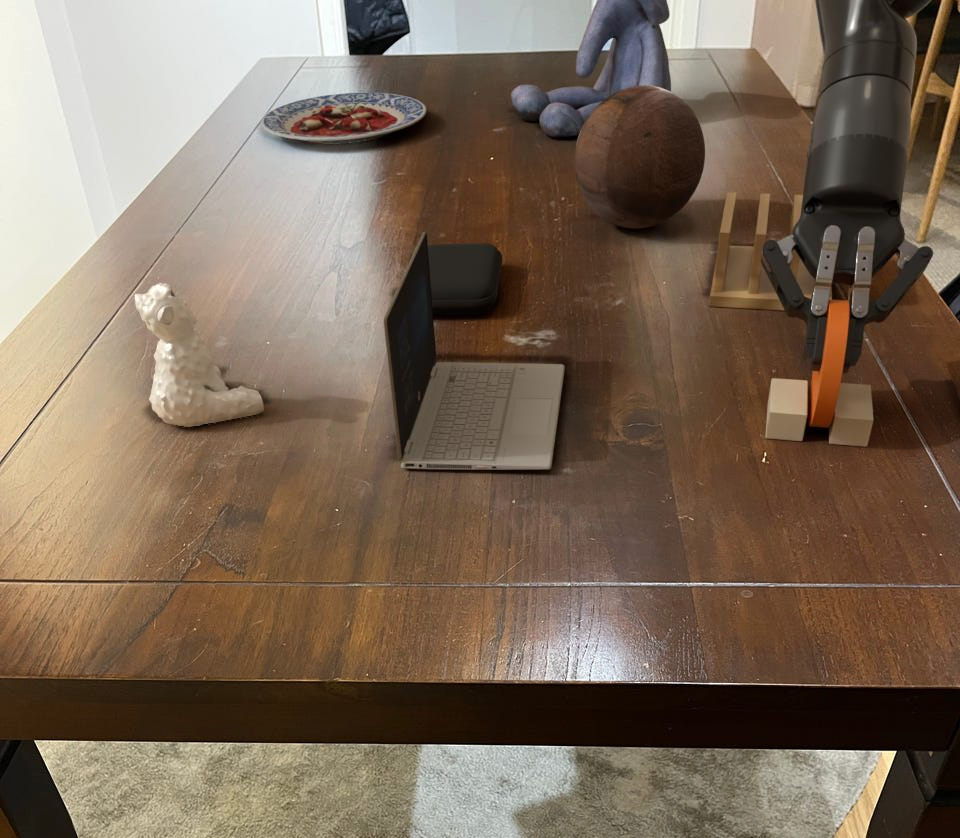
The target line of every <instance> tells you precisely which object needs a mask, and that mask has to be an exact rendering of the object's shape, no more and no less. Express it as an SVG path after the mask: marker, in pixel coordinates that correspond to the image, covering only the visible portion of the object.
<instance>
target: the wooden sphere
mask: <svg viewBox="0 0 960 838" xmlns="http://www.w3.org/2000/svg"><path fill="white" fill-rule="evenodd" d="M705 162H706V144H705V137H704V133H703V128H702V126H701V124H700V122H699V118H698V116H696V114H695V113H694V110H693V109H692V108H691V107H690V106H689V104H687V102H686V101H685V100H684V99H683V98H682V97H680V96H679V95H677V94H675V93H674V92H672V91H671V92H670V91H668V90H666V89H663V88H660V87H656V86H648V85H641V86H633V87H628V88H625V89H622V90H620V91H618V92H616V93H614V94H612V95H610V96H609V97H607V98H606V99H605V100H603V101H602V102H601V103H600V104H599V105H598V106H597V107H596V108H595V109H594V110H593V111H592V113H591V114H590V115H589V117H588V118H587V120H586V121H585V123H584V125H583V127H582V129H581V132H580V134H579V136H577V141H576V146H575V151H574V173H575V178H576V182H577V186H578V189H579V191H580V193H581V196H582V198H583V200H584V201H585V202H586V203H587V205H588V206H589V208H590V209H591V210H592V211H593V212H594V213H595V214H596V215H597V216H599V217H600V218H601V219H603V220H605V221H606V222H608V223H610V224H612V225H614V226H617V227H621V228H626V229H645V228H650V227H653V226H654V227H655V226H657V225H659V224H662V223H664V222H665V221H668V220H669V219H670V218H673V217H674V216H675V215H676V214H678V213H679V212H680V211H681V210H682V209H683V208H684V207H685V206H686V205H687V204H688V203H689V201H690V200H691V198H692V197H693V195H694V194H695V192H696V191H697V188H698V186H699V184H700V181H701V179H702V175H703V172H704V169H705V168H704V167H705Z"/></svg>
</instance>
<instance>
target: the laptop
mask: <svg viewBox="0 0 960 838" xmlns="http://www.w3.org/2000/svg"><path fill="white" fill-rule="evenodd" d="M428 245H429V244H428V234H427V232H426V231H425V230H424V231H423V232H422V234H421V236H420V238H419V240H418V242H417V244H416V247H415V249H414V251H413V253H412V255H411V258H410V260H409V261H408V264H407V266H406V269H405V271H404V272H403V275H402V277H401V279H400V281H399V283H398V286H397V287H396V290H395V293H394V295H393V296H392V299H391V300H390V303H389V305H388V308H387V310H386V311H385V314H384V316H383V329H384V330H383V331H384V339H385V349H386V358H387V367H388V376H389V384H390V393H391V394H390V395H391V403H392V411H393V412H392V413H393V422H394V423H393V424H394V431H395V440H396V449H397V459H398V461H399V462H401V464H400V468H401V469H412V470H413V469H416V470H469V471H470V470H472V471H474V470H478V471H479V470H482V471H484V470H489V471H490V470H491V471H492V470H494V471H495V470H497V471H499V470H501V471H502V470H503V471H504V470H505V471H506V470H507V471H508V470H510V471H511V470H516V471H517V470H518V471H519V470H550V469H552V464H553V457H554V448H555V441H556V434H557V428H558V427H557V426H558V419H559V412H560V407H561V406H560V405H561V397H562V392H563V385H564V377H565V369H566V366H565V365H564V364H563V363H521V362H520V363H517V362H514V363H512V362H461V361H460V362H459V361H458V362H457V361H456V362H455V361H453V362H452V361H438V362H437V349H436V348H437V347H436V337H435V336H436V334H435V322H434V321H435V320H434V315H433V308H432V295H431V282H430V269H429V256H428Z"/></svg>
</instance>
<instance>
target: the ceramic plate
mask: <svg viewBox="0 0 960 838" xmlns="http://www.w3.org/2000/svg"><path fill="white" fill-rule="evenodd" d="M426 113H427V107H426V105H425V104H424V103H423V102H421V101H419V100H418V99H415V98H413V97H410V96H406V95H400V94H396V93H387V92H345V93H336V94H327V95H319V96H313V97H310V98H305V99H300V100H296V101H292V102H289V103H287V104H283V105H281V106H278V107H276V108H274V109H272V110H270V111H269V112H267V113H266V114H265V115H264V116H263V118H262V120H261V125H262V127H263V130H265V131H266V132H267V133H270V134H272V135H275V136H278V137H281V138H285V139H292V140H299V141H303V142H306V141H308V142H307V143H312V142H314V144H319V143H347V144H350V143H349V142H355V143H358V142H357V141H362V142H365V141H364V140H368V141H370V140H369V139H372V140H375V139H374V138H376V139H378V138H377V137H379V138H382V137H384V135H385V136H387V135H389V134H391V133H393V132H397V131H400V130H403V129H406V128H408V127H411V126H413V125H415V124H416V123H418V122H419V121H421V120H422V119H423V118H424V117H425V116H426ZM381 136H382V137H381Z"/></svg>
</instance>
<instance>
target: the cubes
mask: <svg viewBox="0 0 960 838" xmlns="http://www.w3.org/2000/svg"><path fill="white" fill-rule="evenodd" d="M808 394H809V381H808V380H806V379H805V380H804V379H792V378H791V379H789V378H777V377H775V378H774V377H772V378H771V381H770V387H769V393H768V399H767V409H766V422H765V437H764V438H765V439H768V440H781V441H791V442H793V441H794V442H803V440H804V436H805V430H806V426H807V421H808V411H809V400H808V399H809V398H808V397H809V396H808ZM872 396H873V395H872V386H871V384H863V383H862V384H861V383H848V382H841V384H840V389H839V394H838V399H837V403H836V407H835V411H834V415H833V418H832V421H831V424H830V426H829V427H828V444H830V445H840V446H851V447H864V448H867V447H868V446H869V442H870V437H871V433H872V429H873V424H874V408H873V397H872Z"/></svg>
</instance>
